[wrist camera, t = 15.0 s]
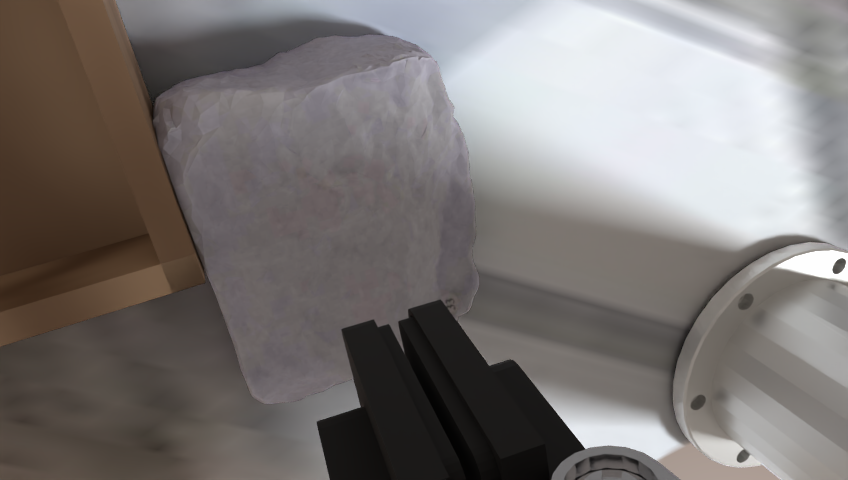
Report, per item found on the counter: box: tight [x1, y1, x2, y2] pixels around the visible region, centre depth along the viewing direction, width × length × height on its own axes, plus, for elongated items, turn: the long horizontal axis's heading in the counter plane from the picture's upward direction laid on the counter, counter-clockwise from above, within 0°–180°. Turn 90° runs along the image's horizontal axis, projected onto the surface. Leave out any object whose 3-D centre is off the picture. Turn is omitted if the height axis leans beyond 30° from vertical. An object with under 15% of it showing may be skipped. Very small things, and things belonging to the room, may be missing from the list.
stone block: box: [153, 34, 479, 404], centre depth 25 cm, size 12×5×10 cm
